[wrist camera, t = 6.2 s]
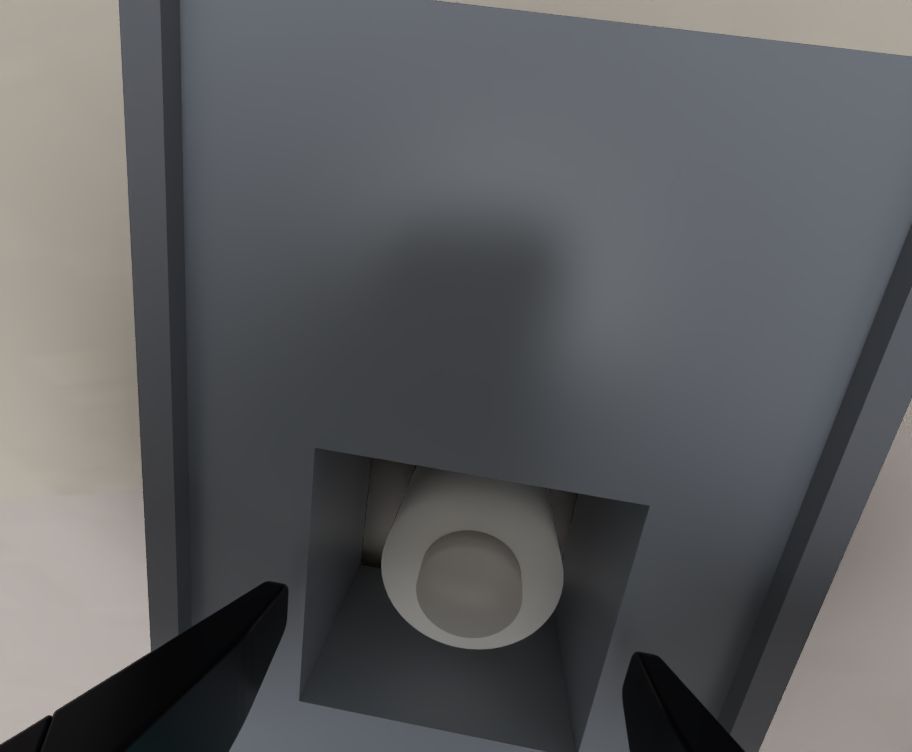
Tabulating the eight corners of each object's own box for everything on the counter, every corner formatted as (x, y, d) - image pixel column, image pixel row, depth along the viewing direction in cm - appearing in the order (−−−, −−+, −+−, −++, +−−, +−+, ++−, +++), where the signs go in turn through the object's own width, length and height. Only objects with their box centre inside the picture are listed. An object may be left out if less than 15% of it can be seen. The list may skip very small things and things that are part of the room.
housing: (799, 149, 10) (1060, 56, 5) (572, 871, 17) (600, 1114, 12) (283, 82, 11) (116, -53, 6) (259, 803, 17) (168, 1008, 13)
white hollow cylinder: (561, 445, 13) (587, 528, 9) (533, 567, 14) (545, 689, 10) (420, 420, 13) (385, 490, 9) (403, 541, 14) (364, 651, 10)
